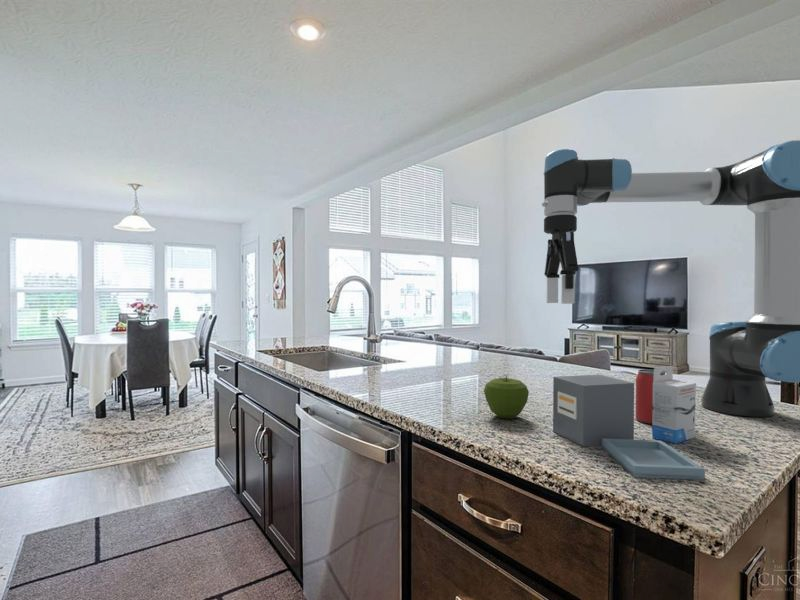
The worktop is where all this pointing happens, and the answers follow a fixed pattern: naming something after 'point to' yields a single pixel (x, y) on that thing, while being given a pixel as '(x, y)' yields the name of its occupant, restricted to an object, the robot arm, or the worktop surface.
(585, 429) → the box
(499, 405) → the apple
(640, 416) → the beer can
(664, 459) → the tray
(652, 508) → the worktop surface
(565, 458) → the worktop surface
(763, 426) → the worktop surface
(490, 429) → the worktop surface
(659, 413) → the ink box
